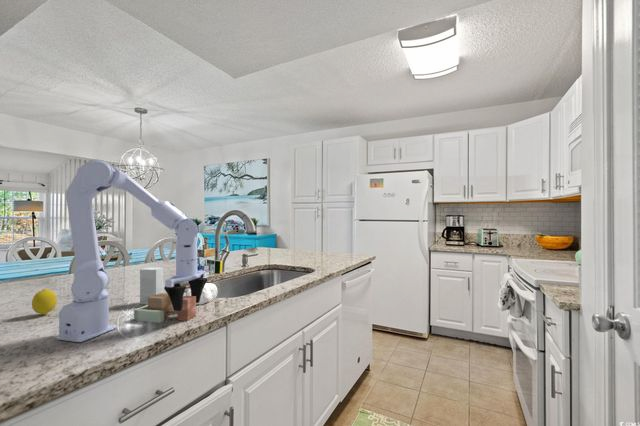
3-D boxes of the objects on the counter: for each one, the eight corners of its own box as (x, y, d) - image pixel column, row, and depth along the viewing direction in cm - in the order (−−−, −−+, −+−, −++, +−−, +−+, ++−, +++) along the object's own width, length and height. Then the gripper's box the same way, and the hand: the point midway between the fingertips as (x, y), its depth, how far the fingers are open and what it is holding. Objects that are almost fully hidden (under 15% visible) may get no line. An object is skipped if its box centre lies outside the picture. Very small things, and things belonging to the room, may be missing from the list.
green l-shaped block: (160, 322, 81) (160, 312, 81) (134, 320, 83) (134, 309, 83) (186, 311, 90) (186, 301, 90) (161, 309, 93) (161, 299, 93)
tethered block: (185, 321, 81) (185, 300, 82) (147, 317, 85) (147, 297, 85) (197, 315, 86) (197, 295, 86) (161, 312, 90) (161, 293, 90)
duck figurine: (214, 303, 106) (202, 277, 109) (226, 293, 103) (213, 266, 106) (185, 313, 95) (172, 284, 99) (197, 301, 92) (183, 272, 96)
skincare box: (164, 301, 102) (164, 267, 102) (155, 305, 97) (156, 269, 97) (147, 300, 102) (147, 267, 102) (139, 304, 98) (139, 269, 98)
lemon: (41, 318, 85) (41, 291, 85) (26, 317, 86) (26, 290, 86) (61, 312, 90) (61, 287, 90) (47, 311, 91) (47, 286, 91)
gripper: (180, 264, 77) (180, 315, 76) (213, 256, 91) (214, 300, 90) (158, 263, 78) (158, 313, 78) (194, 256, 92) (194, 298, 92)
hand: (187, 306), depth 84 cm, fingers open, 7 cm apart
